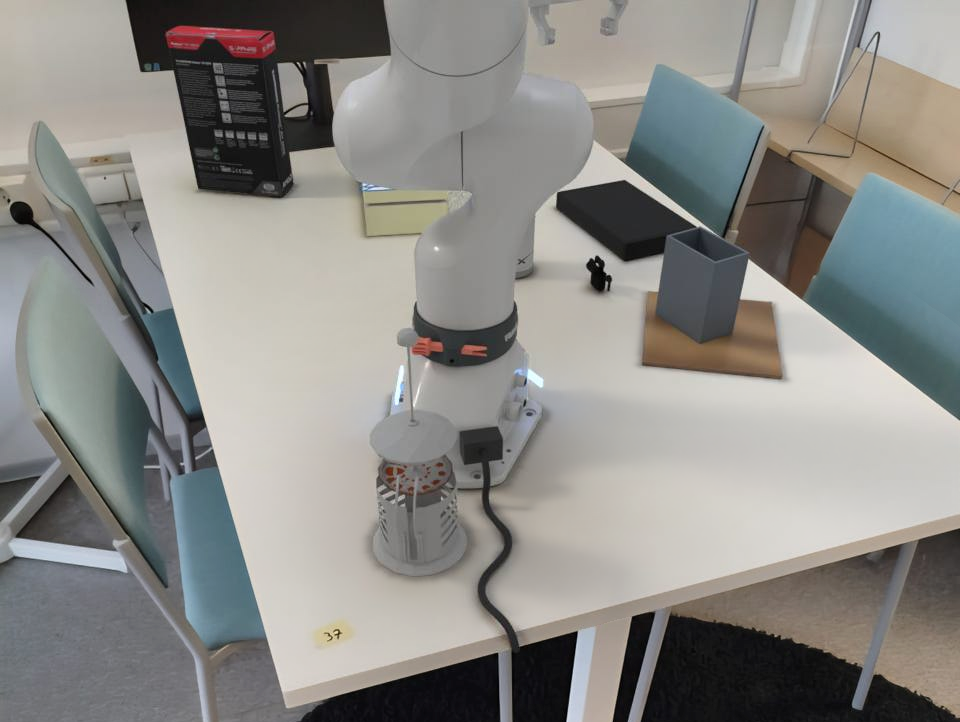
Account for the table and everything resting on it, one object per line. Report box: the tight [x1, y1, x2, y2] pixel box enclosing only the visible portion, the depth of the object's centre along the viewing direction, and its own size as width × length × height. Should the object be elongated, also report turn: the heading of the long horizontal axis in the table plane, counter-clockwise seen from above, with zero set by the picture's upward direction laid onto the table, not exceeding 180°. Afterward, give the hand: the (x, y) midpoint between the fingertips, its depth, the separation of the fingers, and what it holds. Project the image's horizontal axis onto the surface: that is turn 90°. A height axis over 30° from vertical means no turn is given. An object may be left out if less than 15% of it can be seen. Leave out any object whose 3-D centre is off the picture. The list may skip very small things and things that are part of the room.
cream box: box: [358, 182, 449, 237], centre depth 160 cm, size 45×15×10 cm, turn 8°
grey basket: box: [655, 225, 751, 344], centre depth 118 cm, size 12×6×10 cm
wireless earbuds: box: [585, 254, 613, 293], centre depth 129 cm, size 7×2×5 cm, turn 21°
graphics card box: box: [165, 25, 294, 198], centre depth 152 cm, size 17×7×27 cm, turn 80°
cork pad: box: [641, 290, 783, 380], centre depth 121 cm, size 20×18×1 cm
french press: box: [369, 327, 468, 577], centre depth 80 cm, size 10×12×25 cm
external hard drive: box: [555, 179, 698, 262], centre depth 147 cm, size 14×23×3 cm, turn 24°
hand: (577, 39), depth 108 cm, fingers open, 8 cm apart
